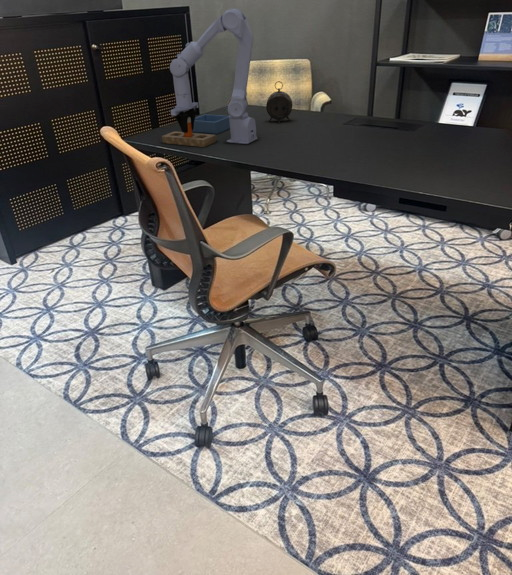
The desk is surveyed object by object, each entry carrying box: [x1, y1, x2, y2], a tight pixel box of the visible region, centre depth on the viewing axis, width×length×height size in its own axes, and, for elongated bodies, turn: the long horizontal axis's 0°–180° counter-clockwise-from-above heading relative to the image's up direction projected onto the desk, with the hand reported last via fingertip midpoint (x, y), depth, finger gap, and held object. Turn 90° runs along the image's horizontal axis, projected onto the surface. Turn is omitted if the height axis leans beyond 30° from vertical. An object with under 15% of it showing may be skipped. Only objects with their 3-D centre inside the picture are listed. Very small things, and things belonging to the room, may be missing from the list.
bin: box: [192, 113, 230, 135], centre depth 209 cm, size 14×12×5 cm
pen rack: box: [161, 130, 217, 148], centre depth 194 cm, size 20×8×3 cm, turn 60°
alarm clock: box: [265, 81, 293, 123], centre depth 211 cm, size 11×5×16 cm, turn 84°
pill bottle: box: [184, 117, 193, 137], centre depth 192 cm, size 3×3×8 cm
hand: (187, 131), depth 192 cm, fingers closed on pill bottle, 3 cm apart
